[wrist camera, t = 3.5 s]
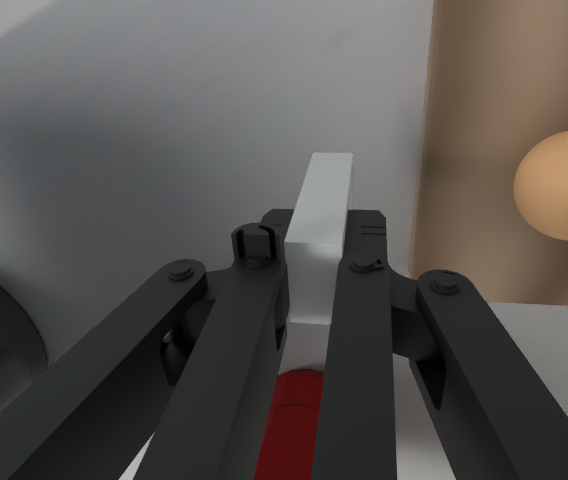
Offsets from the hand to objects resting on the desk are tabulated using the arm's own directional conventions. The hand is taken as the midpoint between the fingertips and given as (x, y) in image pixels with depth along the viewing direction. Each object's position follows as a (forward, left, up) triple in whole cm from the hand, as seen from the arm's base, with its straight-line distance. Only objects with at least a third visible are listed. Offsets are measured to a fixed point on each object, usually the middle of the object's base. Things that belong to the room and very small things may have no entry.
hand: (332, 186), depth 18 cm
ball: (+9, 0, 0) cm, 9 cm away
